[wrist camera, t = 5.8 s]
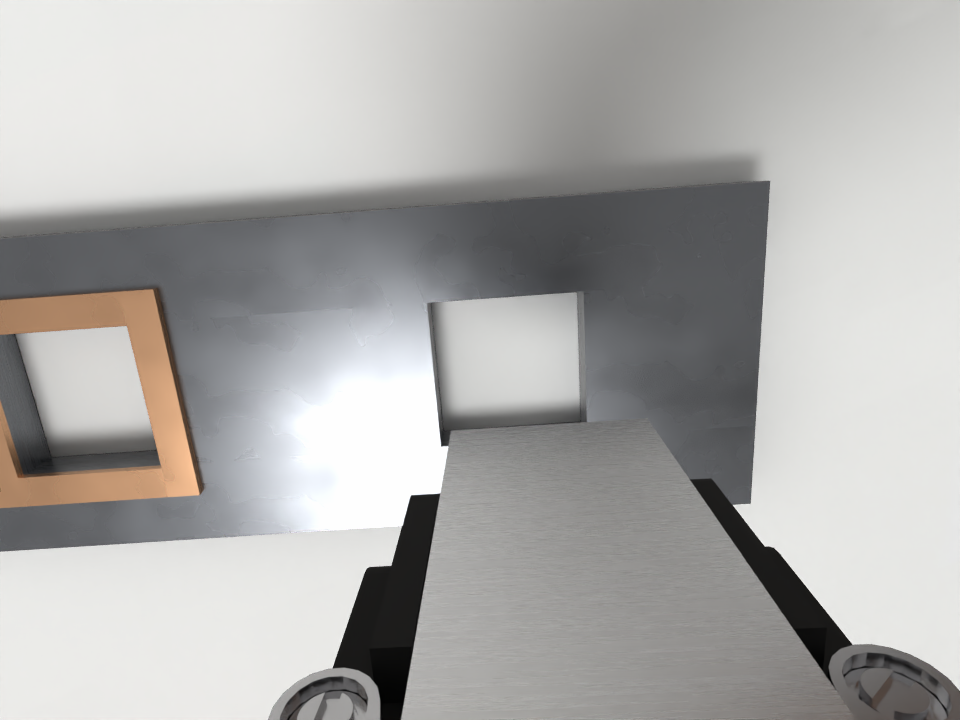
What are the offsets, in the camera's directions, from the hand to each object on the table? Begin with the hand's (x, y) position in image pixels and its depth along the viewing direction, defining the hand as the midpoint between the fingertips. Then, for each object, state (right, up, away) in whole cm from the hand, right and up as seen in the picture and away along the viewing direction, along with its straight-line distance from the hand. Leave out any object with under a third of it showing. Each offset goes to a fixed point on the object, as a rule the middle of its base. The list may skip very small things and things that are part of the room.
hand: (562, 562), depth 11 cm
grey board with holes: (-8, +3, +12) cm, 15 cm away
